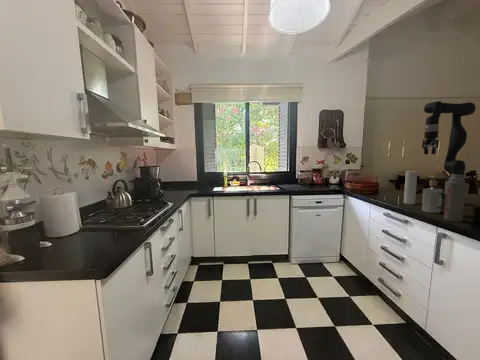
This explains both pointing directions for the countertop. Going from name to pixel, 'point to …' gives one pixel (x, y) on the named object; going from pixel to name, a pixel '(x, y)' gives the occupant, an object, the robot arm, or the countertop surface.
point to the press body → (433, 200)
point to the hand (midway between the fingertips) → (429, 154)
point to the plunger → (433, 184)
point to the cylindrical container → (410, 187)
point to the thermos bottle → (455, 197)
